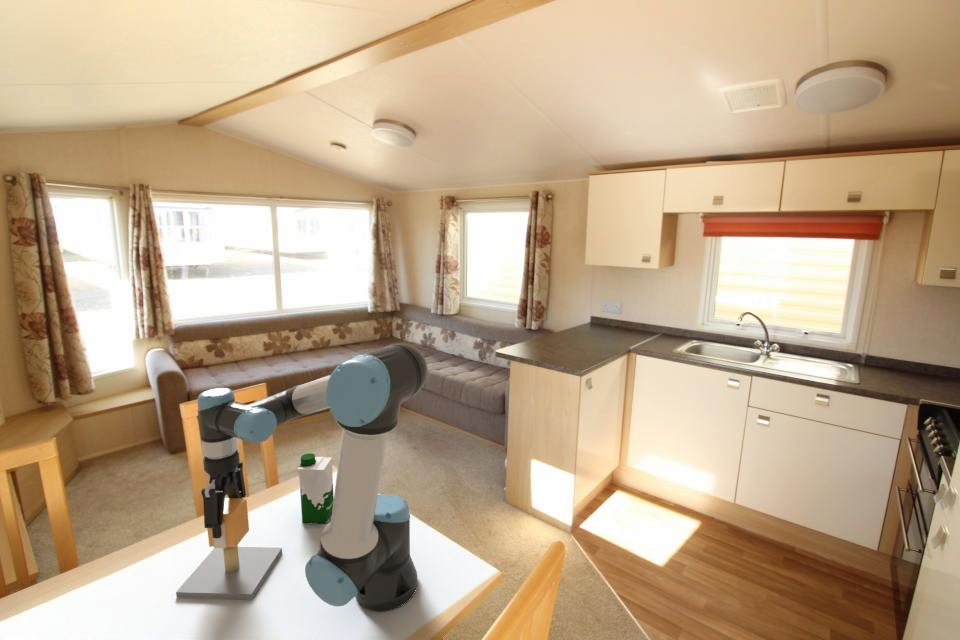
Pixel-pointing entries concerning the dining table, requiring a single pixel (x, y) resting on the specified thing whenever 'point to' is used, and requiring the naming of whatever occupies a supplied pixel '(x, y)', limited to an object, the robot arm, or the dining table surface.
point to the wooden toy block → (233, 521)
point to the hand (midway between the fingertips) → (229, 537)
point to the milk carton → (316, 488)
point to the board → (230, 573)
